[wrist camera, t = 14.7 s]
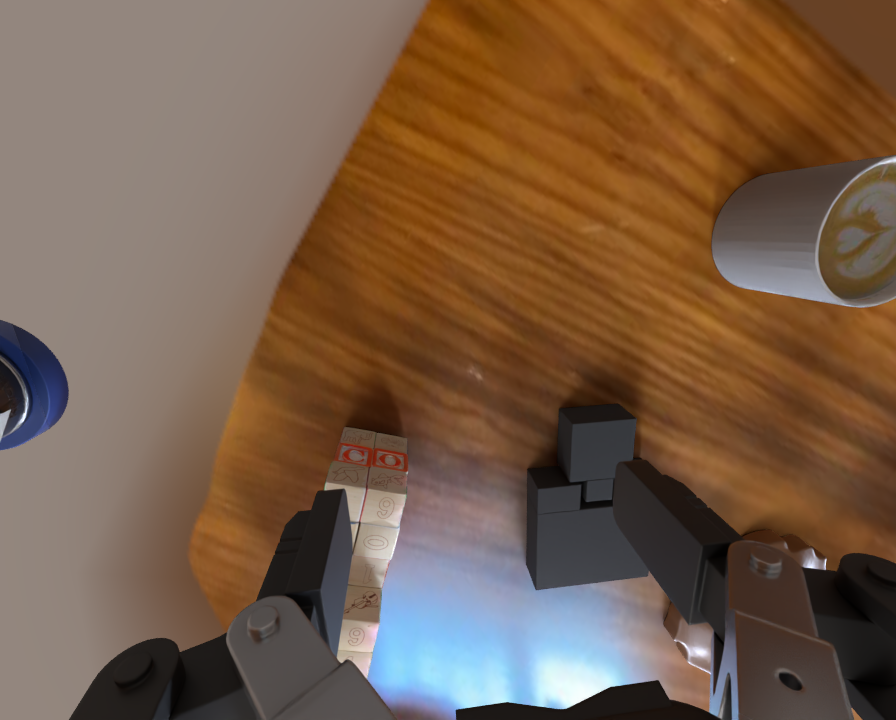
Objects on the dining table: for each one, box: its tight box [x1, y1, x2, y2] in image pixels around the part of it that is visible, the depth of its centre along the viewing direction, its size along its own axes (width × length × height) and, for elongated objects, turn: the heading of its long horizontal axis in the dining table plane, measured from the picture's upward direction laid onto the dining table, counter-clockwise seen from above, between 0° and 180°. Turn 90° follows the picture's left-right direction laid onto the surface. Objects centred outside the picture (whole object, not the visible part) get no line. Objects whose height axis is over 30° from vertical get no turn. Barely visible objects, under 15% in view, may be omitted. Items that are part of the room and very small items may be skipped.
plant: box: [663, 530, 852, 708], centre depth 46 cm, size 20×20×11 cm
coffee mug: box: [712, 155, 896, 307], centre depth 34 cm, size 13×10×10 cm
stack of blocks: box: [324, 427, 408, 679], centre depth 37 cm, size 21×6×12 cm, turn 165°
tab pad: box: [557, 404, 637, 502], centre depth 41 cm, size 6×8×4 cm
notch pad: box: [526, 458, 649, 590], centre depth 43 cm, size 12×12×4 cm
